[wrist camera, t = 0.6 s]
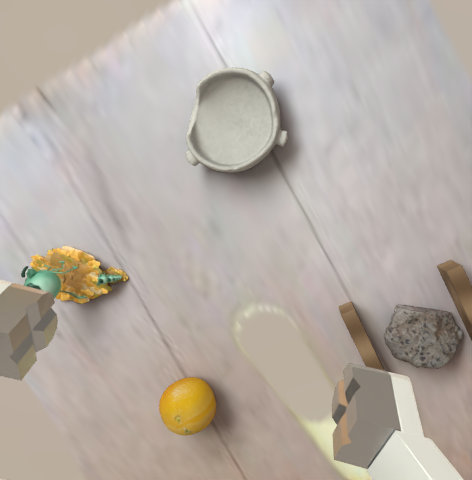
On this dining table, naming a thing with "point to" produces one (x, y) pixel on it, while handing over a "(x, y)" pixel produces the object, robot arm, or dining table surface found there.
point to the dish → (234, 120)
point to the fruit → (187, 406)
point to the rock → (422, 336)
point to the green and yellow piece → (71, 275)
